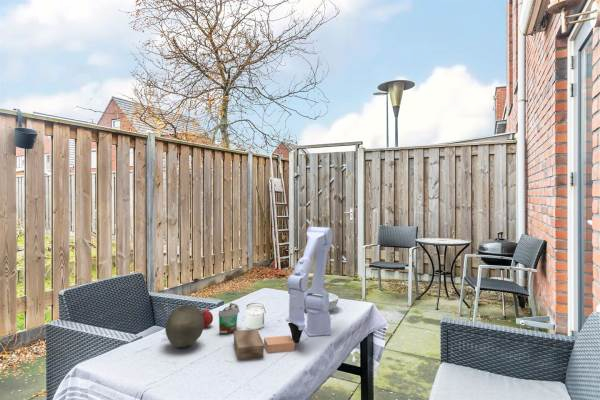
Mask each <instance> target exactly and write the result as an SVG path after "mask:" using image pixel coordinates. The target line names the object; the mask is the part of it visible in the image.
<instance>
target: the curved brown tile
mask: <svg viewBox="0 0 600 400" xmlns="http://www.w3.org/2000/svg"><path fill="white" fill-rule="evenodd" d="M233 348H234V351H235V354H236V359H237V360H246V359H247V360H249V359H256V358H264V349H265V345H264V340H263V339H262V337H261V334H260V332H259V330H258V329H255V328H254V329H252V328H251V329H244V330H243V329H242V330H241V329H240V330H236V331H234V333H233Z"/></svg>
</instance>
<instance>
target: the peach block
mask: <svg viewBox="0 0 600 400" xmlns="http://www.w3.org/2000/svg"><path fill="white" fill-rule="evenodd" d="M263 338H264V340H263V343H264V345H265V348H264V349H265V351H266V353H267V354H273V353H274V354H275V353H284V352H294V351H295V342H294V341H293V339H292V335H279V336H269V337H263Z"/></svg>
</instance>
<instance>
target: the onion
mask: <svg viewBox="0 0 600 400" xmlns="http://www.w3.org/2000/svg"><path fill="white" fill-rule="evenodd" d="M201 312H202V315H203V318H204V327H203V328H208V327H209V326H210V325H211V324H212V323H213V321H214V320H213V319H214V315H213V313H212V312H211V311H209V308H205V309H204V310H203V311H201Z"/></svg>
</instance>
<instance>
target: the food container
mask: <svg viewBox="0 0 600 400" xmlns="http://www.w3.org/2000/svg"><path fill="white" fill-rule="evenodd" d="M239 313H240V308H239V305H238V304H236V303H233V302H232V303H231V302H230V303H229V305H228V306H227V307H225V308H223V309H222V310H219V311H218V326H219V328H218V329H219V330H218V331H219V332H218V333H219V335H220V336H227V335H232V334H234V331H237V327H238V326H237V325H238V315H239Z"/></svg>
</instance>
